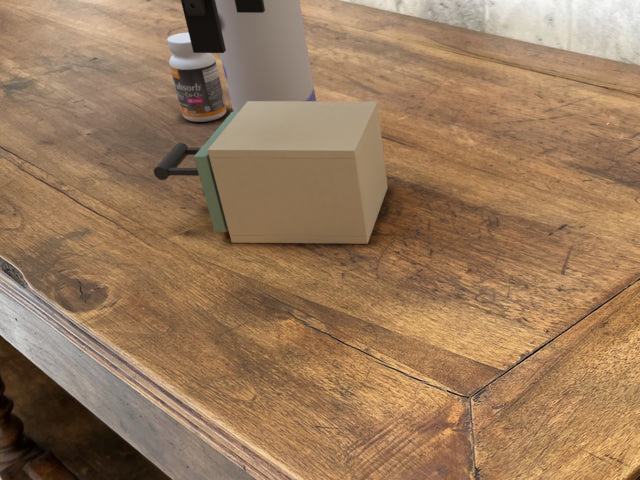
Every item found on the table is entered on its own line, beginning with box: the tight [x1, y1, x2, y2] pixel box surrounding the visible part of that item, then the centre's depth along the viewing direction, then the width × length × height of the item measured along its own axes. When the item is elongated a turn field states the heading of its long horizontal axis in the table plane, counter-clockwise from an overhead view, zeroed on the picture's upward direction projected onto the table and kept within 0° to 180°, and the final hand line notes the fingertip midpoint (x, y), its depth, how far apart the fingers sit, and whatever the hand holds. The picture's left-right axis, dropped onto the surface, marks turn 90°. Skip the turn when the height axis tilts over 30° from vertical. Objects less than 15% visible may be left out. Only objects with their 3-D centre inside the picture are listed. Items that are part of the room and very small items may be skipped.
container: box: [215, 0, 317, 112], centre depth 94 cm, size 10×10×20 cm
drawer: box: [153, 111, 238, 233], centre depth 81 cm, size 18×11×8 cm, turn 88°
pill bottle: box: [166, 31, 227, 123], centre depth 103 cm, size 6×6×10 cm
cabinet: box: [208, 100, 388, 245], centre depth 80 cm, size 14×13×10 cm
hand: (232, 30), depth 77 cm, fingers open, 13 cm apart
